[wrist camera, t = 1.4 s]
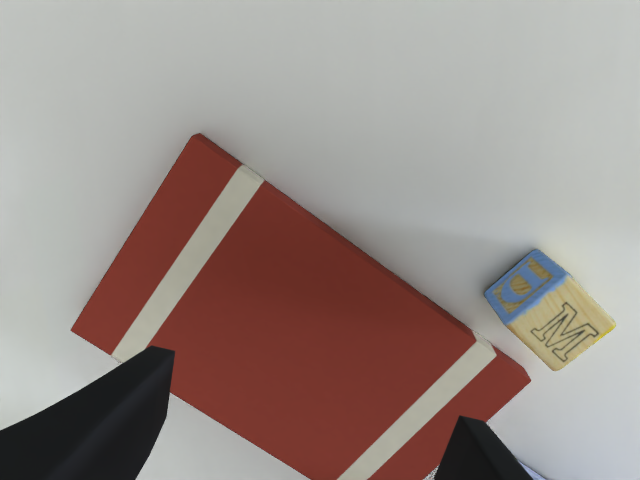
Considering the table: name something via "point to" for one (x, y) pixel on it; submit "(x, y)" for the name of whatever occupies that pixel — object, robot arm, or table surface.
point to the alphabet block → (548, 310)
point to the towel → (291, 329)
